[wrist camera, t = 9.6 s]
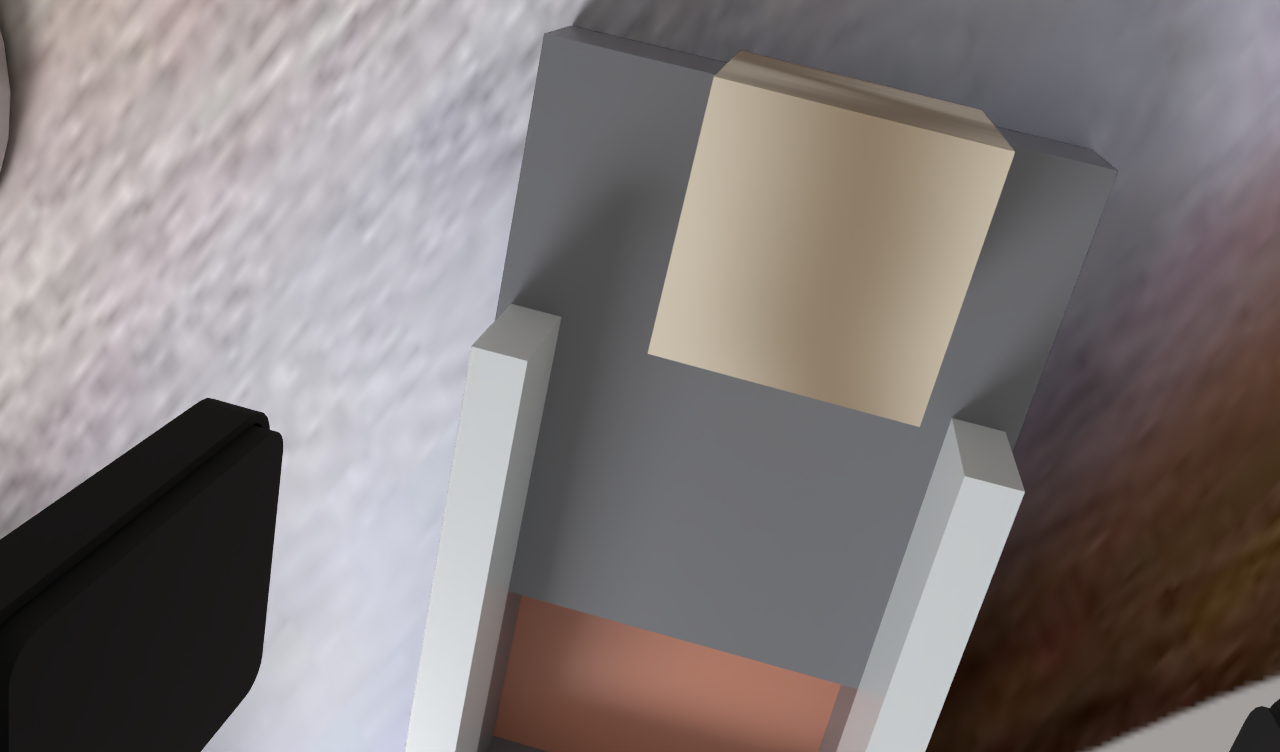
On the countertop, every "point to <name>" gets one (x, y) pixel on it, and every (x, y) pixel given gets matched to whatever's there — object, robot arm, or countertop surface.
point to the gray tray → (714, 466)
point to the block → (828, 235)
